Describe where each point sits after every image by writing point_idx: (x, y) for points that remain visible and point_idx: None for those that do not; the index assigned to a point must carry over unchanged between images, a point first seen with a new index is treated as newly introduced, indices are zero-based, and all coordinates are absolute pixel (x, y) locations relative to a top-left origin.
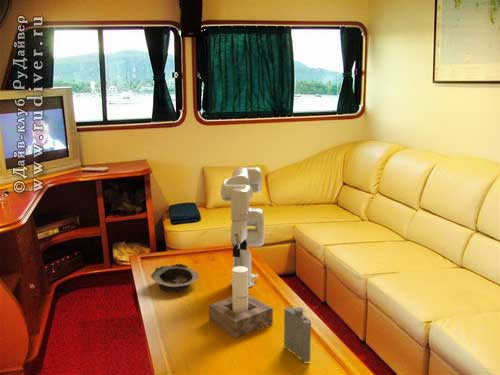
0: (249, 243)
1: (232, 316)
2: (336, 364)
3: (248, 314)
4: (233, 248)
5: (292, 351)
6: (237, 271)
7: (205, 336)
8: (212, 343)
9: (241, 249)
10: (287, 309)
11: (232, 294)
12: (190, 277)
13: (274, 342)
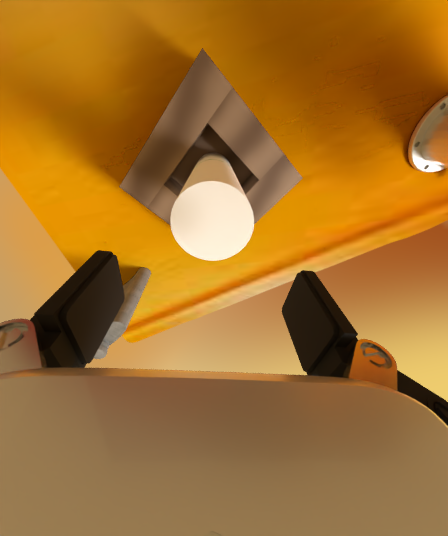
0: None
1: (145, 170)
2: None
3: (170, 212)
4: (9, 330)
5: (129, 281)
6: (178, 218)
7: (113, 82)
8: (90, 117)
9: (296, 280)
10: (112, 326)
11: (204, 162)
12: None
13: (151, 252)
